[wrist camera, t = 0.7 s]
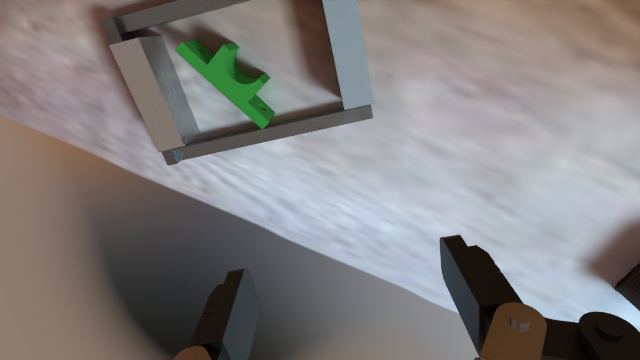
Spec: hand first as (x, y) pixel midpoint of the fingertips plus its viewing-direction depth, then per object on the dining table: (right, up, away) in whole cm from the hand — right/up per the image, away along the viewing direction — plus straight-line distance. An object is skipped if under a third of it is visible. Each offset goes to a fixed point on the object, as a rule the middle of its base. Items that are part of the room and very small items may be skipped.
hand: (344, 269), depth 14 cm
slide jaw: (+2, +18, +22) cm, 29 cm away
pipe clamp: (-10, +16, +24) cm, 30 cm away
